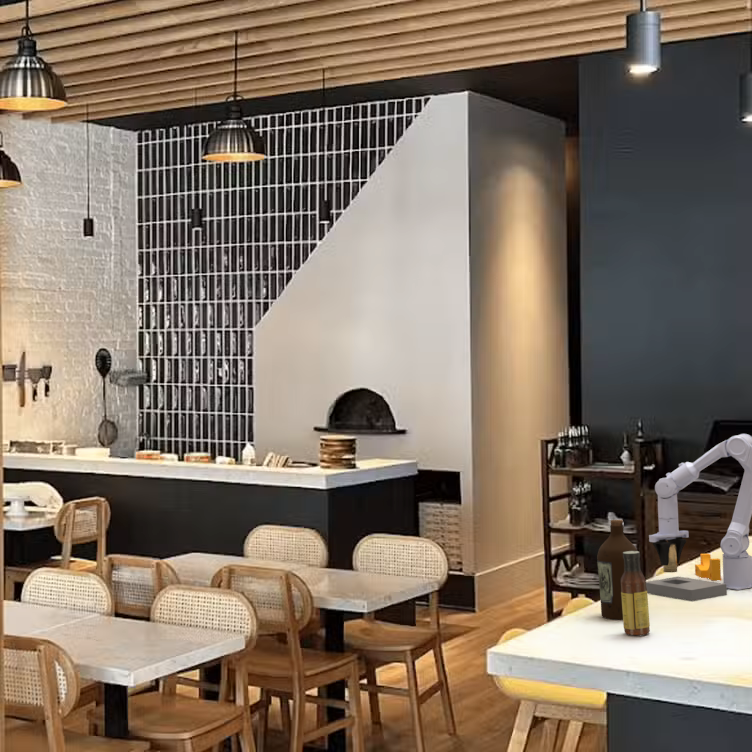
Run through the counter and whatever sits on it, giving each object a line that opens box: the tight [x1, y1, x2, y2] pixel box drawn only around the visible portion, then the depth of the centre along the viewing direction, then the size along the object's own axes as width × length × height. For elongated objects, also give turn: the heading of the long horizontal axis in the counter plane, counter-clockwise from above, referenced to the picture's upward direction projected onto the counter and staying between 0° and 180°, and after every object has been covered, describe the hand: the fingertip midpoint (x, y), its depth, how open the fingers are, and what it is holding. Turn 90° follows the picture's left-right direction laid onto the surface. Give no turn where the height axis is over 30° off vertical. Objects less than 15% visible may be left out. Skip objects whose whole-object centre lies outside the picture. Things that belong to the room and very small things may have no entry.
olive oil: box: [596, 519, 638, 621], centre depth 324 cm, size 11×11×25 cm
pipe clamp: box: [694, 553, 722, 582], centre depth 378 cm, size 12×4×6 cm, turn 1°
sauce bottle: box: [621, 550, 651, 637], centre depth 302 cm, size 7×6×20 cm
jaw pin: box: [662, 543, 678, 573], centre depth 369 cm, size 4×4×8 cm
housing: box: [646, 576, 728, 602], centre depth 353 cm, size 14×18×3 cm
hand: (670, 564), depth 369 cm, fingers closed on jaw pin, 4 cm apart
